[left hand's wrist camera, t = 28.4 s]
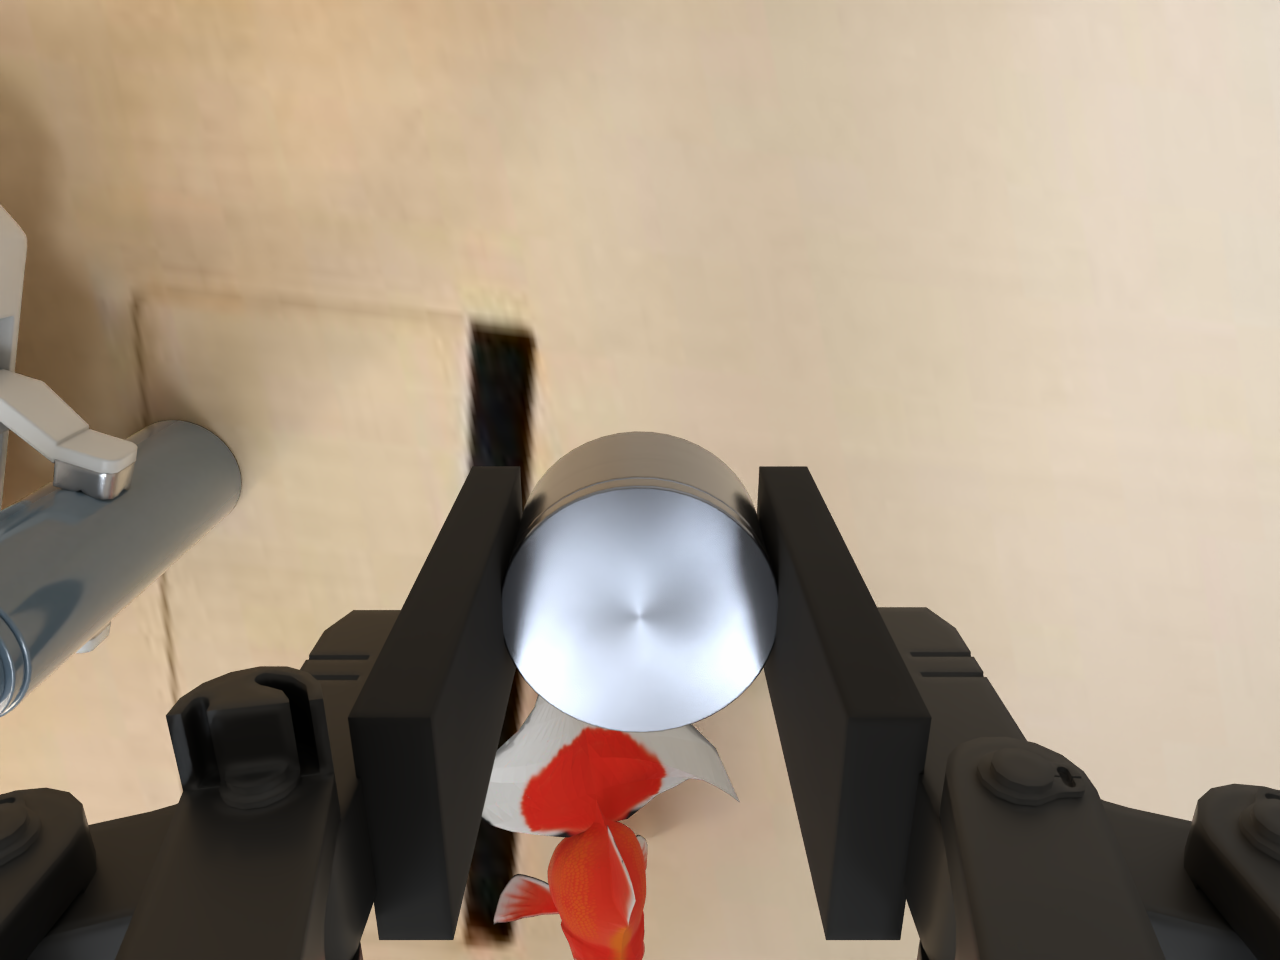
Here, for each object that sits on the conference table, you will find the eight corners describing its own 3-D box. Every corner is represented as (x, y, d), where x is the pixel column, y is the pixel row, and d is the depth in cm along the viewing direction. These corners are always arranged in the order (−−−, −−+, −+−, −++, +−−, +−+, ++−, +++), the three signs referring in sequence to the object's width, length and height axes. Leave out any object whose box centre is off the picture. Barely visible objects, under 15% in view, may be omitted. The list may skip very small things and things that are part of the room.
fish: (402, 950, 40) (451, 1086, 30) (457, 598, 41) (519, 627, 32) (623, 939, 44) (724, 1054, 35) (666, 620, 45) (774, 651, 36)
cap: (609, 381, 14) (603, 429, 11) (809, 518, 14) (839, 587, 12) (473, 570, 15) (445, 645, 12) (666, 686, 15) (670, 776, 13)
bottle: (231, 418, 36) (-146, 676, 19) (250, 526, 38) (-81, 853, 20) (114, 419, 36) (-371, 678, 19) (138, 526, 38) (-287, 854, 20)
